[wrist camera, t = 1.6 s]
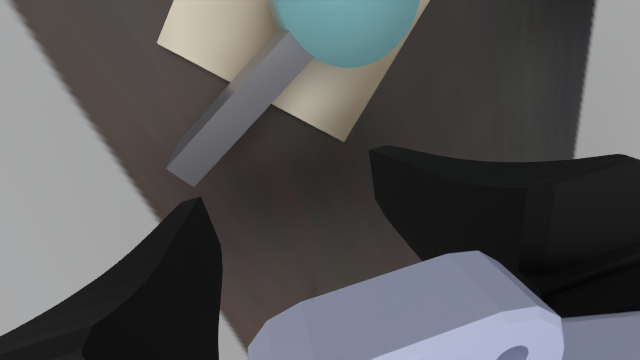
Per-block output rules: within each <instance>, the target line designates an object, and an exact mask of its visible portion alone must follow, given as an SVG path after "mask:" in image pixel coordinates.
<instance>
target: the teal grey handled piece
mask: <svg viewBox="0 0 640 360" xmlns="http://www.w3.org/2000/svg"><path fill="white" fill-rule="evenodd" d="M419 2H420V0H269V6H270V11H271V14H272V17H273V20H274V22H275V24H276V26H277V28H278V30H277V31H276V32H275V34H274V35H273V36H272V37H271V38H270V39H269V40H268V41H267V43H266V44H265V45H264V46H263V47H262V48H261V49H260V50H259V52H258V53H257V54H256V55H255V56H254V57H253V58H252V59H251V61H250V62H249V63H248V64H247V65H246V66H245V67H244V68H243V70H242V71H241V72H240V73H239V74H238V75H237V76H236V77H235V78H234V80H233V81H232V82H231V83H230V84H229V85H228V86H227V87H226V89H225V90H224V91H223V92H222V93H221V94H220V95H219V96H218V98H217V99H216V100H215V101H214V102H213V103H212V104H211V105H210V107H209V108H208V109H207V110H206V111H205V112H204V113H203V114H202V116H201V117H200V118H199V119H198V120H197V121H196V122H195V123H194V125H193V126H192V127H191V128H190V129H189V130H188V131H187V132H186V133H185V135H184V136H183V137H182V138H181V139H180V140H179V141H178V142H177V144H176V147H175V149H174V151H173V154H172V156H171V158H170V160H169V163H168V165H167V167H166V169H167V170H169V171H170V172H172V173H173V174H175V175H176V176H177V177H179V178H180V179H182V180H183V181H185V182H186V183H188V184H189V185H191V186H192V187H195V186H196V185H197V183H198V182H199V181H200V180H201V179H202V178H203V177H204V176H205V175H206V174H207V173H208V172H209V170H210V169H211V168H212V167H213V166H214V165H215V164H216V163H217V162H218V161H219V160H220V159H221V158H222V156H223V155H224V154H225V153H226V152H227V151H228V150H229V149H230V148H231V147H232V146H233V145H234V143H235V142H236V141H237V140H238V139H239V138H240V137H241V136H242V135H243V134H244V133H245V132H246V130H247V129H248V128H249V127H250V126H251V125H252V124H253V123H254V122H255V121H256V120H257V119H258V118H259V116H260V115H261V114H262V113H263V112H264V111H265V110H266V109H267V108H268V107H269V106H270V105H271V103H272V102H273V101H274V100H275V99H276V98H277V97H278V96H279V95H280V94H281V93H282V92H283V90H284V89H285V88H286V87H287V86H288V85H289V84H290V83H291V82H292V81H293V80H294V79H295V77H296V76H297V75H298V74H299V73H300V72H301V71H302V70H303V69H304V68H305V67H306V66H307V65H308V63H309V62H310V61H311V60H312V59H313V58H314V59H316V60H319V61H321V62H323V63H326V64H329V65H331V66H336V67H340V68H356V67H361V66H366V65H369V64H371V63H374V62H376V61H378V60H380V59H381V58H383V57H384V56H386V55H387V54H389V53H390V52H391V51H392V50H393V49H394V48H395V47H396V46H397V45H398V44H399V43H400V42H401V40H402V39H403V38H404V36H405V35H406V33H407V32H408V30H409V28H410V27H411V25H412V23H413V20H414V18H415V15H416V13H417V9H418V6H419Z"/></svg>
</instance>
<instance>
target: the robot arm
mask: <svg viewBox="0 0 640 360" xmlns="http://www.w3.org/2000/svg"><path fill="white" fill-rule="evenodd" d="M369 155H370V163H371V170H372V178H373V185H374V193H375V199H376V201H377V203H378V205H379V206H380V208H381V210H382V211H383V213H384V215H385V216H386V218H387V219H388V221H389V222H390V223H391V224H392V226H393V227H394V228H395V229H396V230H397V232H398V233H399V234H400V235H401V236H402V238H403V239H404V240H405V241H406V242H407V244H408V245H409V246H410V247H411V248H412V250H413V251H414V252H415V253H416V254H417V255H418V257H419V258H420V259H421V260H422V262H420V263H417V264H414V265H411V266H408V267H405V268H402V269H399V270H396V271H393V272H390V273H387V274H384V275H381V276H378V277H375V278H372V279H369V280H366V281H363V282H360V283H357V284H354V285H351V286H348V287H345V288H342V289H339V290H336V291H332V292H329V293H326V294H323V295H320V296H317V297H314V298H311V299H308V300H305V301H302V302H300V303H298V304H296V305H294V306H293V307H291V308H289V309H287V310H285V311H284V312H282V313H280V314H278V315H277V316H275V317H273V318H271V319H269V320H268V321H266V323H265V324H264V326H263V327H262V328H261V330H260V331H259V333H258V334H257V335H256V337H255V338H254V340H253V341H252V342H251V344H250V345H249V347H248V360H640V160H639V159H635V158H633V157H630V156H627V155H621V154H614V155H605V156H598V157H590V158H581V159H573V160H561V161H546V162H485V161H473V160H463V159H456V158H450V157H443V156H438V155H433V154H428V153H423V152H418V151H414V150H409V149H404V148H400V147H394V146H382V147H378V148H375V149H371V150H369ZM222 272H223V267H222V254H221V245H220V242H219V240H218V237H217V235H216V232H215V230H214V227H213V225H212V223H211V220H210V218H209V215H208V213H207V210H206V208H205V205H204V203H203V201H202V198H201V197H198V198H194V199H191V200H187V201H184V202H182V203H180V204H179V205H178V206H177V207H176V208H175V209H174V210H173V211H172V212H171V213H170V214H169V215H168V216H167V217H166V218H165V219H164V220H163V221H162V222H161V223H160V224H159V225H158V226H157V227H156V228H155V229H154V230H153V231H152V232H151V233H150V234H149V235H148V236H147V237H146V238H145V239H144V240H143V241H142V242H140V243H139V244H138V245H137V246H136V247H135V248H134V249H133V250H132V251H131V252H130V253H129V254H127V255H126V256H125V257H124V258H123V259H122V260H120V261H119V262H118V263H117V264H115V265H114V266H113V267H112V268H110V269H109V270H108V271H106V272H105V273H104V274H102V275H101V276H100V277H98V278H97V279H95V280H94V281H93V282H91V283H90V284H88V285H87V286H85V287H84V288H82V289H81V290H79V291H78V292H76V293H75V294H73V295H72V296H70V297H69V298H67V299H66V300H64V301H62V302H61V303H59V304H58V305H56V306H54V307H53V308H51V309H49V310H48V311H46V312H44V313H42V314H41V315H39V316H37V317H35V318H34V319H32V320H30V321H29V322H27V323H25V324H23V325H21V326H19V327H17V328H16V329H14V330H12V331H10V332H8V333H6V334H4V335H2V336H0V360H219V351H218V326H219V325H218V324H219V313H220V300H221V287H222Z"/></svg>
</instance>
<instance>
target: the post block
mask: <svg viewBox="0 0 640 360" xmlns="http://www.w3.org/2000/svg"><path fill="white" fill-rule="evenodd" d="M429 1H430V0H420V2H419V6H418V9H417V13H416V15H415V18H414V20H413V23H412V25H411V27H410V28H409V30H408V32H407V33H406V35H405V36H404V38H403V39H402V40H401V42H400V43H399V44H398V45H397V46H396V47H395V48H394V49H393V50H392V51H391V52H390V53H389V54H387V55H386V56H384V57H383V58H381V59H380V60H378V61H376V62H374V63H371V64H369V65H366V66H361V67H356V68H340V67H336V66H331V65H329V64H326V63H323V62H321V61H319V60H316V59H314V58H313V59H312V60H311V61H310V62H309V63H308V65H307V66H306V67H305V68H304V69H303V70H302V71H301V72H300V73H299V74H298V75H297V76H296V77H295V79H294V80H293V81H292V82H291V83H290V84H289V85H288V86H287V87H286V88H285V89H284V90H283V92H282V93H281V94H280V95H279V96H278V97H277V98H276V99H275V100H274V101H273V102H272V103H271V104H273V105H275V106H276V107H278V108H280V109H282V110H284V111H286V112H288V113H290V114H292V115H293V116H295V117H297V118H299V119H301V120H303V121H305V122H307V123H309V124H311V125H312V126H314V127H316V128H318V129H320V130H322V131H324V132H326V133H328V134H329V135H331V136H333V137H335V138H337V139H339V140H341V141H343V142H344V141H345V140H346V138H347V136H348V135H349V133H350V131H351V130H352V128H353V126H354V125H355V123H356V121H357V120H358V118H359V116H360V115H361V113H362V112H363V110H364V108H365V107H366V105H367V103H368V102H369V100H370V98H371V97H372V95H373V93H374V92H375V90H376V88H377V87H378V85H379V83H380V82H381V80H382V78H383V77H384V75H385V73H386V72H387V70H388V69H389V67H390V65H391V64H392V62H393V60H394V59H395V57H396V55H397V54H398V52H399V50H400V49H401V47H402V45H403V44H404V42H405V40H406V39H407V37H408V35H409V34H410V32H411V30H412V29H413V27H414V26H415V24H416V22H417V21H418V19H419V17H420V16H421V14H422V12H423V11H424V9H425V7H426V6H427V4H428V2H429ZM277 30H278V28H277V26H276V24H275V22H274V20H273V17H272V14H271V11H270V6H269V0H174V2H173V4H172V7H171V9H170V12H169V14H168V17H167V19H166V21H165V24H164V26H163V29H162V31H161V34H160V36H159V39H158V41H157V44H159V45H161V46H163V47H165V48H167V49H169V50H171V51H172V52H174V53H176V54H178V55H180V56H182V57H184V58H186V59H188V60H189V61H191V62H193V63H195V64H197V65H199V66H201V67H203V68H205V69H206V70H208V71H210V72H212V73H214V74H216V75H218V76H220V77H222V78H223V79H225V80H227V81H229V82H232V81H233V80H234V78H235V77H236V76H237V75H238V74H239V73H240V72H241V71H242V70H243V68H244V67H245V66H246V65H247V64H248V63H249V62H250V61H251V59H252V58H253V57H254V56H255V55H256V54H257V53H258V52H259V50H260V49H261V48H262V47H263V46H264V45H265V44H266V43H267V41H268V40H269V39H270V38H271V37H272V36H273V35H274V34H275V32H276V31H277Z"/></svg>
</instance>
